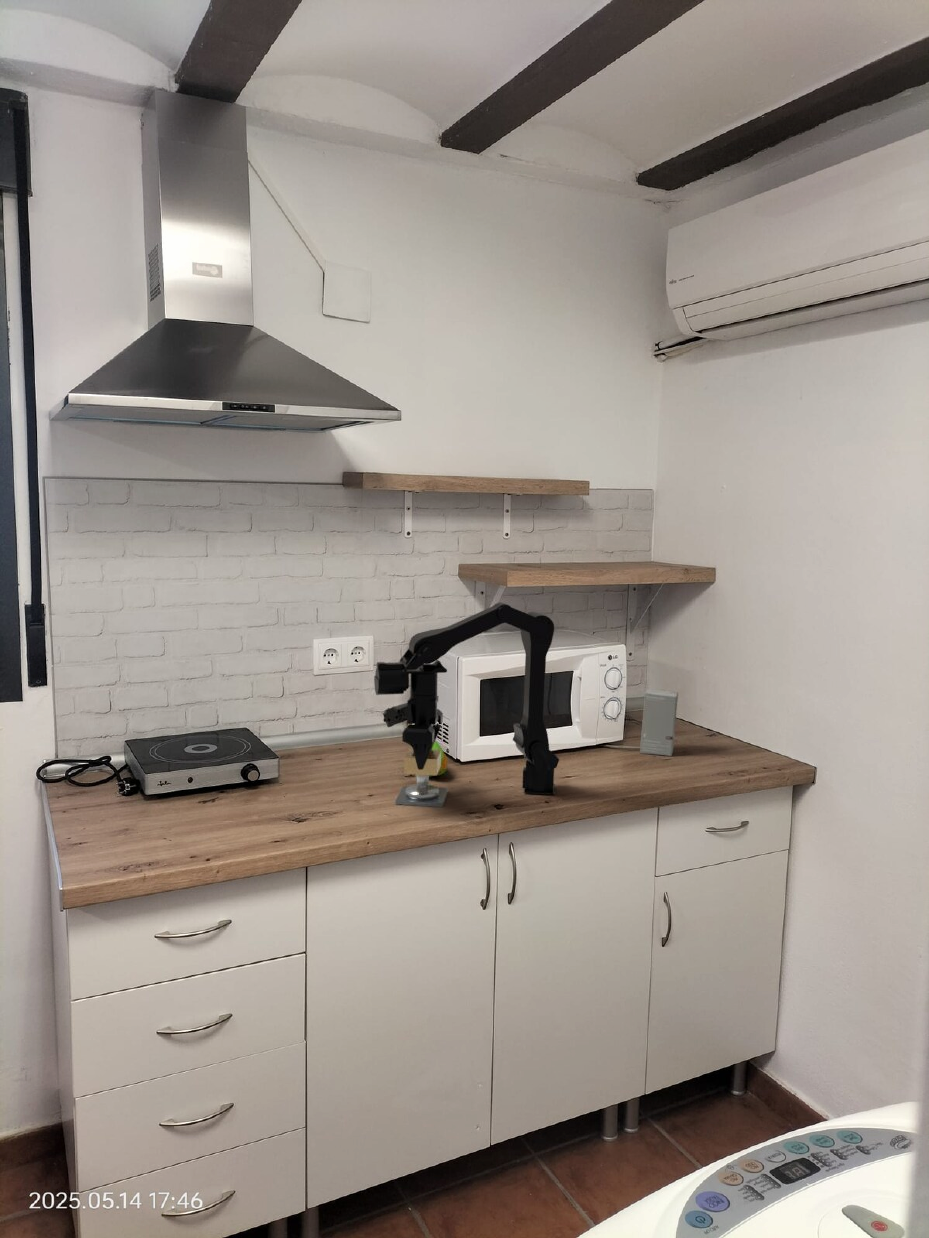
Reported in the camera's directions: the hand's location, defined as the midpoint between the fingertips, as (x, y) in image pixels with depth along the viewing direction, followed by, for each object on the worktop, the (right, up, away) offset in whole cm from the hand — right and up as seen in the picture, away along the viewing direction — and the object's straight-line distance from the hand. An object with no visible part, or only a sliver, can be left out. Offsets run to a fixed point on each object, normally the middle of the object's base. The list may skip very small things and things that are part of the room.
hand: (422, 764), depth 195 cm
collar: (0, -1, 0) cm, 1 cm away
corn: (0, -5, +21) cm, 22 cm away
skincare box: (+59, -3, +40) cm, 71 cm away
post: (0, -7, +1) cm, 8 cm away
